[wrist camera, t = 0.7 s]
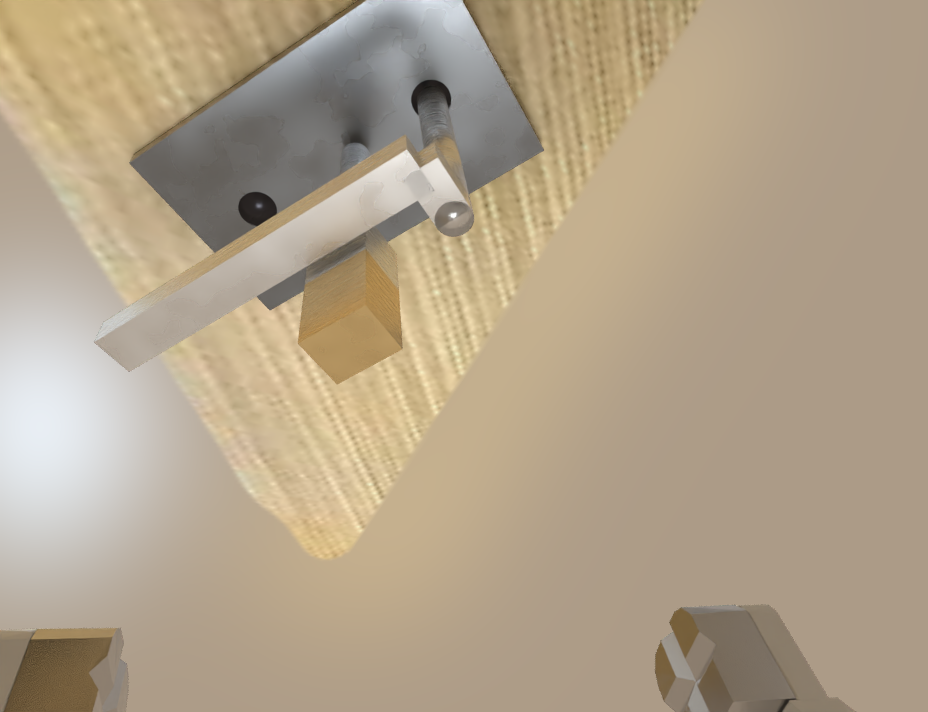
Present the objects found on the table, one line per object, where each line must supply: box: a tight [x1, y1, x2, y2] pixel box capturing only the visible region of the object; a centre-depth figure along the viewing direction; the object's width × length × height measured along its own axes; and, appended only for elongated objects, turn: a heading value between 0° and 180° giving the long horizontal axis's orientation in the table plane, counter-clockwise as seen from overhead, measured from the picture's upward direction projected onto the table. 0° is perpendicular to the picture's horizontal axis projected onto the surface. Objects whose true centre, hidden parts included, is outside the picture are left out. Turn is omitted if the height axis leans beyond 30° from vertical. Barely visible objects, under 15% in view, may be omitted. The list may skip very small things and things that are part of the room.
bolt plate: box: [129, 0, 544, 310], centre depth 43 cm, size 20×12×1 cm, turn 120°
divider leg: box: [298, 143, 402, 384], centre depth 35 cm, size 3×2×18 cm
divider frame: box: [94, 86, 474, 372], centre depth 37 cm, size 17×4×14 cm, turn 120°
